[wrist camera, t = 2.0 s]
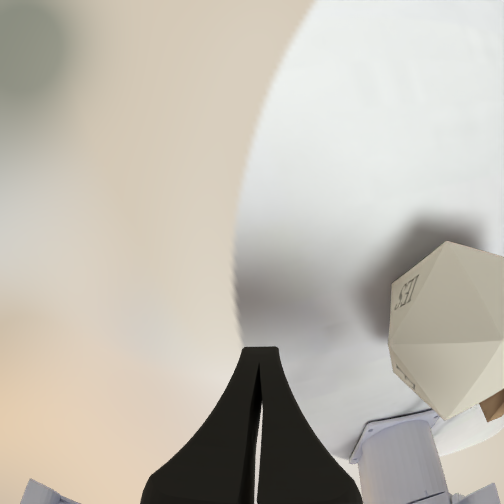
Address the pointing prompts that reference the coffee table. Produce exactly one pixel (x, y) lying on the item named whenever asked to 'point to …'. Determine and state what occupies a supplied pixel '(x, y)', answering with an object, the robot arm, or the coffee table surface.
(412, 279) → the die
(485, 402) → the walnut board
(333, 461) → the robot arm
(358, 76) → the coffee table surface
